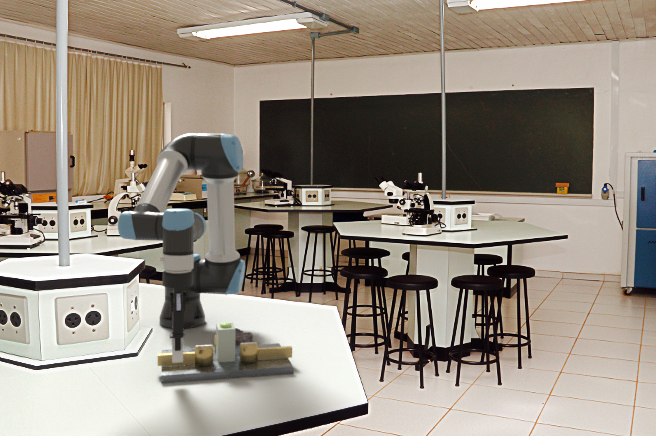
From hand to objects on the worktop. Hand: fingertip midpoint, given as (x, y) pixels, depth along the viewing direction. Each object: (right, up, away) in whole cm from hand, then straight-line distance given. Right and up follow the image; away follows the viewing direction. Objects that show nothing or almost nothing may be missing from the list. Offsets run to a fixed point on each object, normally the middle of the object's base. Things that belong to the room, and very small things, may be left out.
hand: (177, 361), depth 154 cm
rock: (+9, -2, +31) cm, 33 cm away
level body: (+10, -2, +13) cm, 16 cm away
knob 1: (0, -2, +7) cm, 7 cm away
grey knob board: (+10, -4, +13) cm, 17 cm away
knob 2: (+21, -2, +13) cm, 25 cm away
